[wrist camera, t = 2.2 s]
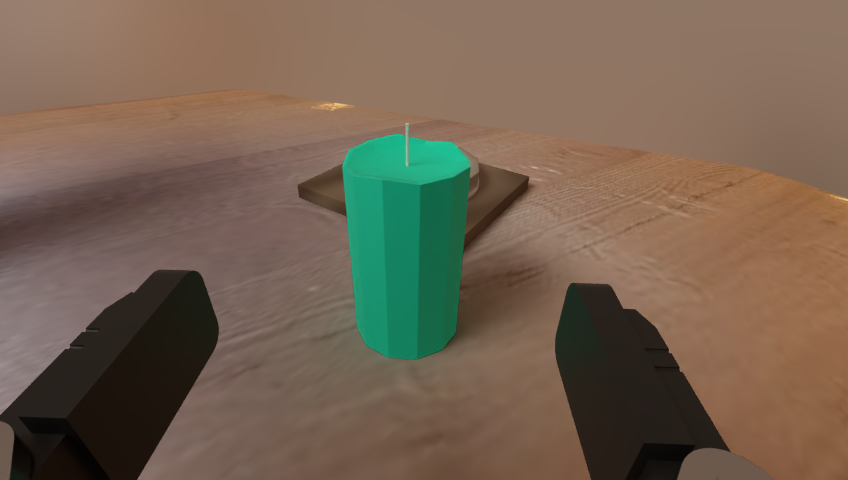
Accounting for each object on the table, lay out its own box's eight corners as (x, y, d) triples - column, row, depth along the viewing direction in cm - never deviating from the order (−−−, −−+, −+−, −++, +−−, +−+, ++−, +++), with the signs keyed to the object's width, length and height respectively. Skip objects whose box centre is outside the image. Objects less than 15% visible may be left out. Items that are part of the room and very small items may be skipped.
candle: (441, 372, 22) (456, 158, 16) (339, 343, 24) (311, 137, 17) (467, 299, 27) (487, 112, 20) (380, 279, 28) (372, 98, 22)
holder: (299, 197, 38) (294, 165, 36) (394, 150, 48) (393, 123, 46) (452, 258, 31) (455, 222, 29) (527, 187, 40) (532, 158, 39)
